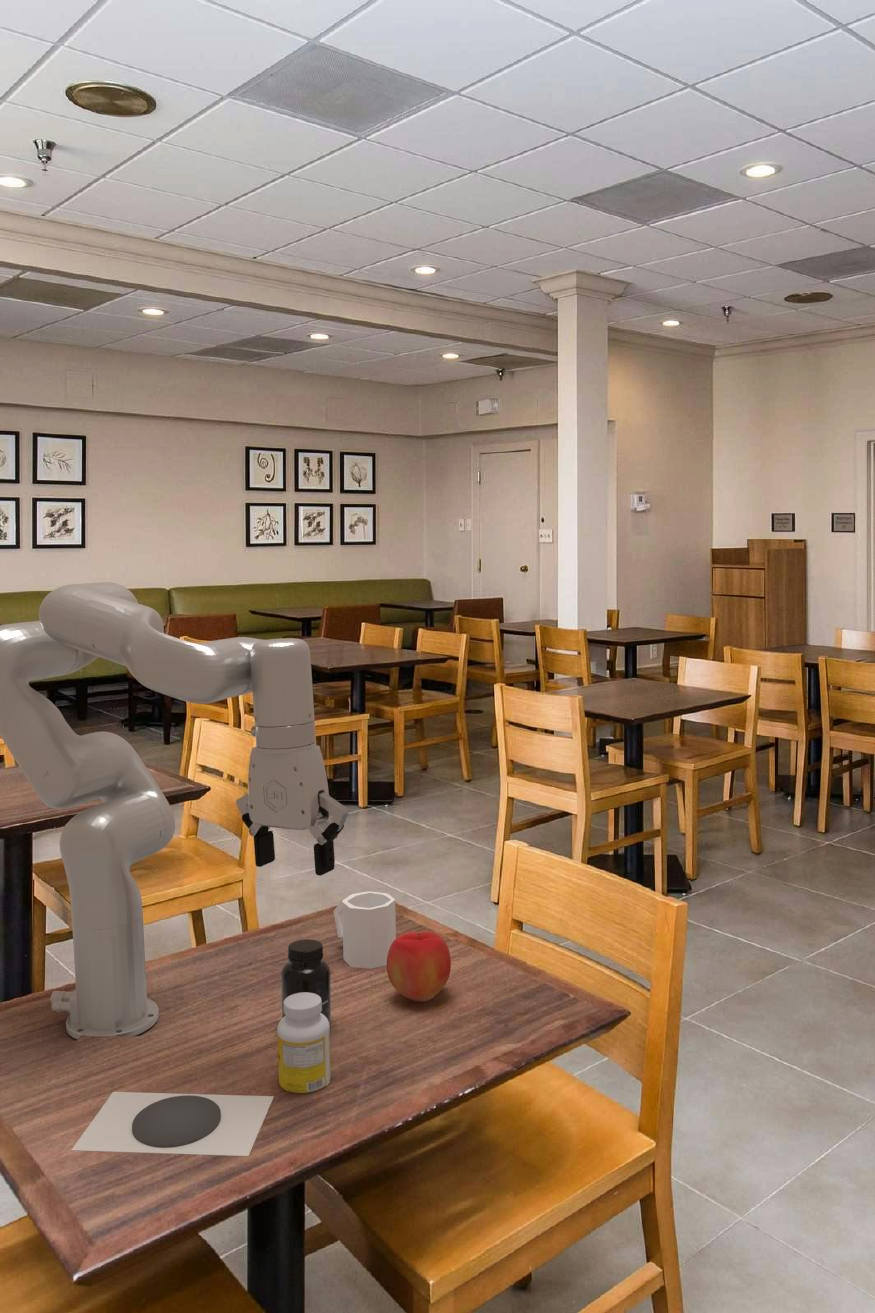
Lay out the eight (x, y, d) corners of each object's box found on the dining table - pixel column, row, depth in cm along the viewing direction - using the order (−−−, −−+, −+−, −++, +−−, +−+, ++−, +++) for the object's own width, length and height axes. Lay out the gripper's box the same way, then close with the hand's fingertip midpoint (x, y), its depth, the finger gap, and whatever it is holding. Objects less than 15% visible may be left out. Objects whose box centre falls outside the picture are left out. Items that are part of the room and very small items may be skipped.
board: (71, 1160, 114) (71, 1150, 113) (113, 1100, 125) (113, 1091, 125) (248, 1166, 112) (248, 1155, 112) (274, 1105, 124) (273, 1096, 124)
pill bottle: (306, 1069, 132) (303, 984, 131) (342, 1086, 128) (339, 997, 127) (268, 1091, 127) (265, 1002, 126) (304, 1109, 123) (301, 1017, 122)
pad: (118, 1146, 114) (118, 1142, 114) (150, 1097, 124) (149, 1094, 124) (206, 1148, 113) (206, 1145, 113) (231, 1099, 123) (231, 1096, 123)
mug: (406, 956, 167) (405, 898, 166) (368, 973, 161) (367, 913, 160) (355, 938, 175) (353, 883, 174) (317, 954, 169) (315, 896, 168)
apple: (461, 1005, 150) (461, 939, 149) (400, 1017, 146) (399, 950, 145) (437, 979, 159) (436, 917, 158) (379, 990, 155) (378, 926, 154)
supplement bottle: (322, 1041, 140) (320, 957, 138) (275, 1036, 141) (272, 953, 140) (337, 1017, 146) (335, 937, 145) (292, 1014, 148) (289, 934, 146)
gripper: (214, 738, 131) (223, 869, 132) (322, 745, 122) (331, 885, 123) (253, 728, 137) (261, 852, 139) (358, 734, 128) (367, 867, 130)
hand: (294, 867), depth 131 cm, fingers open, 9 cm apart
